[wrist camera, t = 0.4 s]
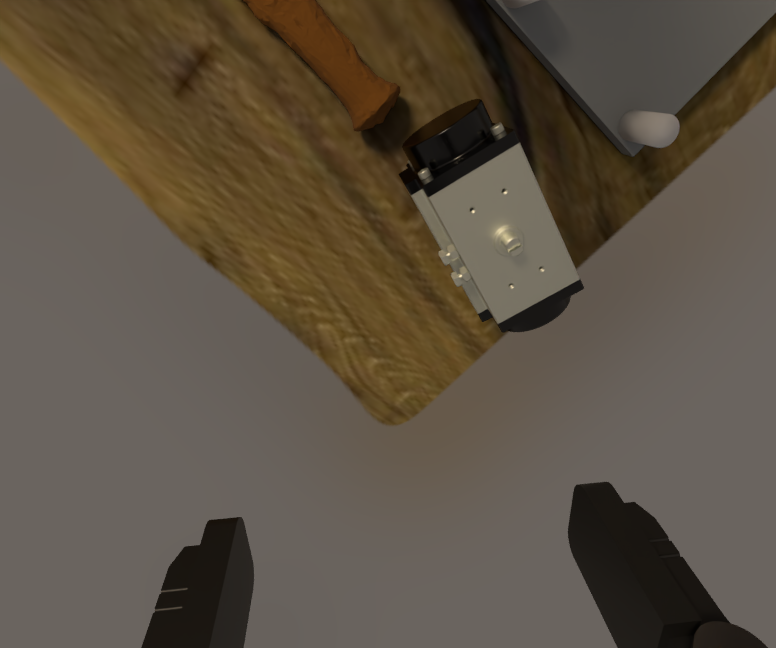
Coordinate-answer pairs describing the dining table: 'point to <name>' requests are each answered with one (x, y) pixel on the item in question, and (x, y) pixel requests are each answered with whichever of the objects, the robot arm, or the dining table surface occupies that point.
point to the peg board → (634, 55)
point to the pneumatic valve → (490, 218)
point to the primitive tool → (330, 57)
